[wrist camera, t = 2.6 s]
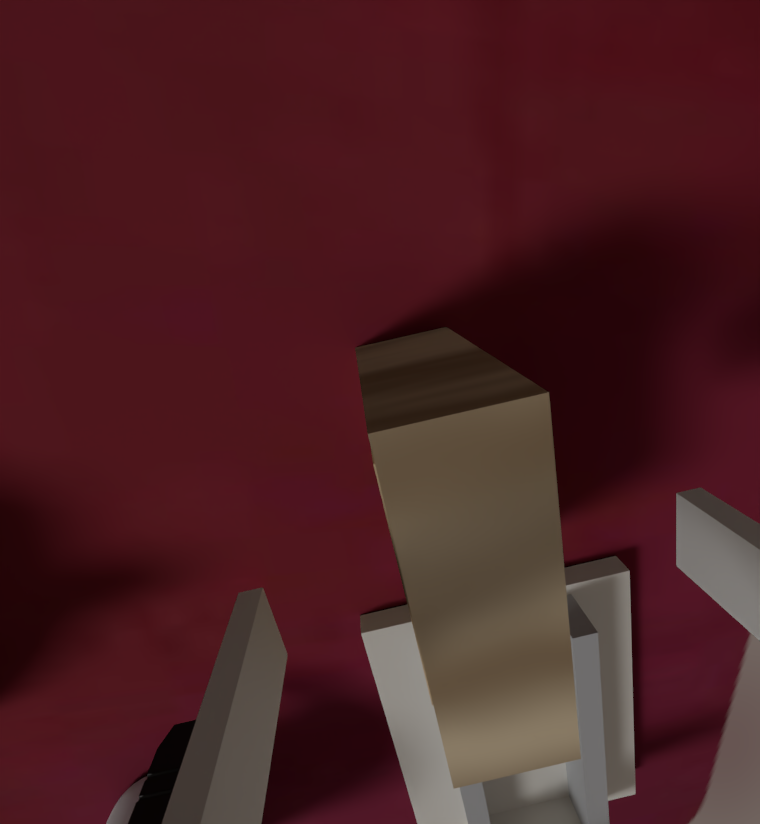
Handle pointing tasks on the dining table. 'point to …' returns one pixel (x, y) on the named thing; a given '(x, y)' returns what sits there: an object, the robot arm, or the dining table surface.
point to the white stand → (595, 701)
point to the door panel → (476, 547)
